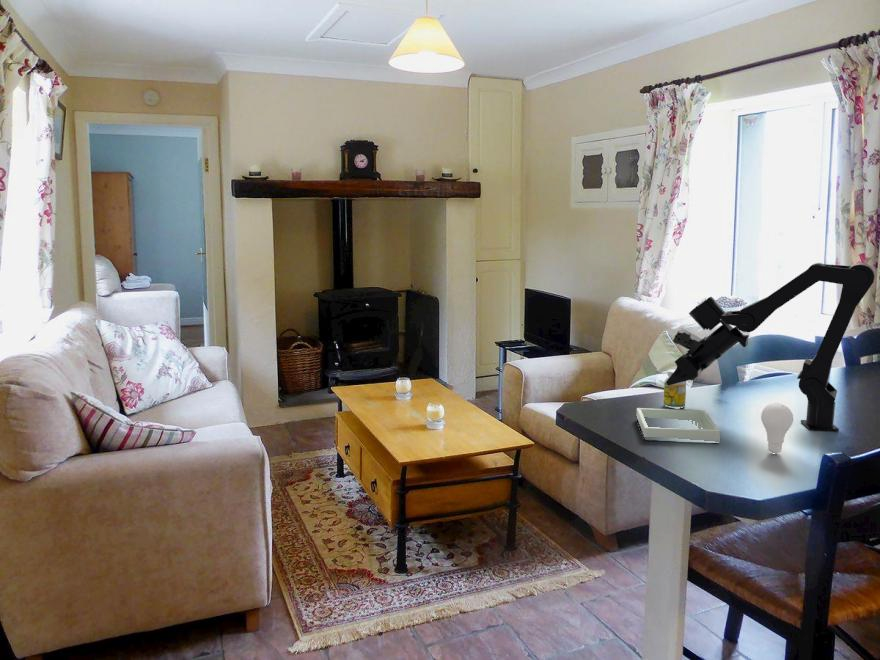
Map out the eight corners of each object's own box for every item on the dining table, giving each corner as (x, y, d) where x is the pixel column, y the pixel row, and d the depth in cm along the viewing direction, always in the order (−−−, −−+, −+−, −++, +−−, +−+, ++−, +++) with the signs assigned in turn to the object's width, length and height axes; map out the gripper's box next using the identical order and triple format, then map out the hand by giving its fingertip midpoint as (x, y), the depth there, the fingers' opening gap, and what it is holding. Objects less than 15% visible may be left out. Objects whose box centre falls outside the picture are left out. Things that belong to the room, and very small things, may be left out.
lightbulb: (794, 453, 151) (798, 403, 149) (785, 461, 146) (789, 409, 144) (764, 447, 155) (767, 398, 153) (754, 454, 150) (758, 404, 148)
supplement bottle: (689, 408, 184) (691, 372, 183) (673, 410, 182) (675, 374, 180) (674, 403, 189) (676, 367, 188) (658, 405, 187) (660, 370, 185)
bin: (719, 444, 157) (720, 430, 156) (644, 440, 159) (644, 427, 159) (704, 422, 172) (705, 410, 172) (636, 419, 175) (636, 408, 174)
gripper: (702, 314, 187) (658, 351, 195) (685, 325, 172) (638, 364, 180) (732, 347, 185) (686, 383, 192) (718, 360, 169) (668, 399, 177)
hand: (669, 381), depth 185 cm, fingers closed on supplement bottle, 5 cm apart
